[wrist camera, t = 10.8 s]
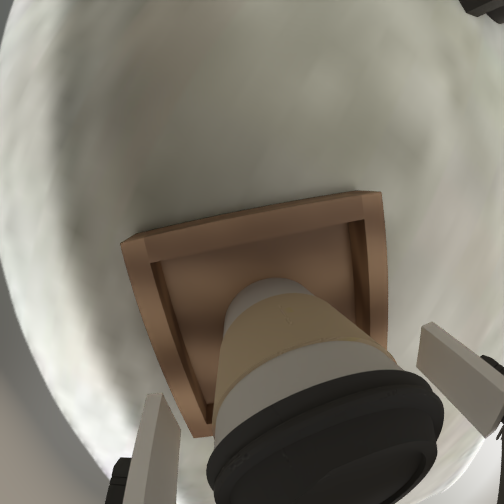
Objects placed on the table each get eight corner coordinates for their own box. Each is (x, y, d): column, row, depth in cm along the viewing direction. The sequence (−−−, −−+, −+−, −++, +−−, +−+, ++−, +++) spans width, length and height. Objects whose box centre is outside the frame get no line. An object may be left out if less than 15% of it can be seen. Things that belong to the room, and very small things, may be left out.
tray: (135, 233, 19) (119, 243, 15) (356, 190, 20) (381, 191, 16) (195, 410, 22) (193, 438, 19) (366, 368, 24) (383, 389, 20)
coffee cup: (353, 300, 21) (495, 429, 6) (284, 388, 22) (344, 548, 7) (254, 236, 19) (369, 385, 4) (185, 342, 20) (162, 542, 5)
